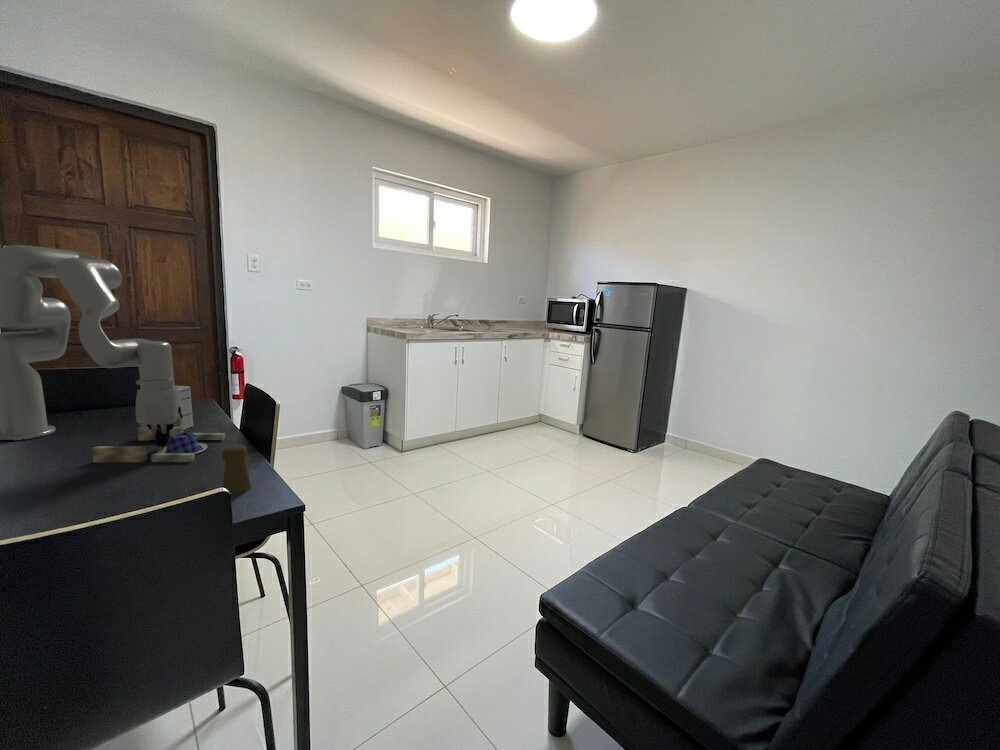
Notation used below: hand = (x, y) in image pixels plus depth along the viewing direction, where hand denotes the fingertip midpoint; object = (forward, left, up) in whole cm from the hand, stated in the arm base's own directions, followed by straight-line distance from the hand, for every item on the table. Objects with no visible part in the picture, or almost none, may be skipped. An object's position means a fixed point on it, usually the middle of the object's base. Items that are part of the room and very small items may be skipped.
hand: (163, 444), depth 123 cm
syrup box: (-7, +20, -2) cm, 21 cm away
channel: (0, 0, -2) cm, 2 cm away
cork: (+31, -27, -2) cm, 41 cm away
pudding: (+6, -1, -2) cm, 6 cm away
